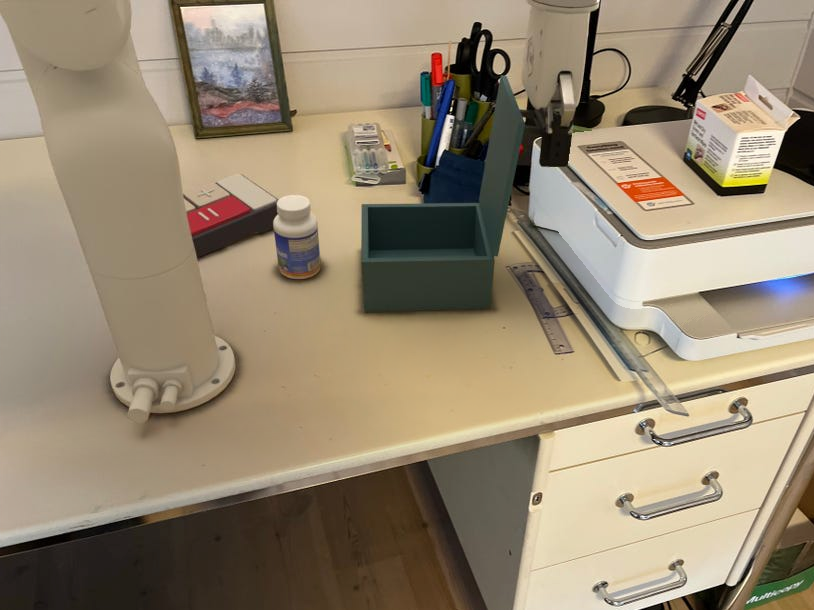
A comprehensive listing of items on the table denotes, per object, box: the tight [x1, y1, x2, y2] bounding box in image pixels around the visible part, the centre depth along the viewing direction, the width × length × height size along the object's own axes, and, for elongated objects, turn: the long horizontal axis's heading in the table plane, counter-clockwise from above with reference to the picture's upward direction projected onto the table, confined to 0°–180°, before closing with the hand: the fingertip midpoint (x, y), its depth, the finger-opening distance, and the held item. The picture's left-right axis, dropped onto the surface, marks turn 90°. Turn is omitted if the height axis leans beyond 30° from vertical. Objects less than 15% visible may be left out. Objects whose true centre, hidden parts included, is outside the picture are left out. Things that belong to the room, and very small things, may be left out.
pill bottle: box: [273, 194, 322, 280], centre depth 95 cm, size 5×5×10 cm
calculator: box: [183, 173, 279, 259], centre depth 103 cm, size 11×4×15 cm
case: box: [360, 202, 496, 313], centre depth 95 cm, size 16×14×7 cm
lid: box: [478, 74, 546, 258], centre depth 89 cm, size 16×14×6 cm
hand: (545, 146), depth 87 cm, fingers open, 9 cm apart
